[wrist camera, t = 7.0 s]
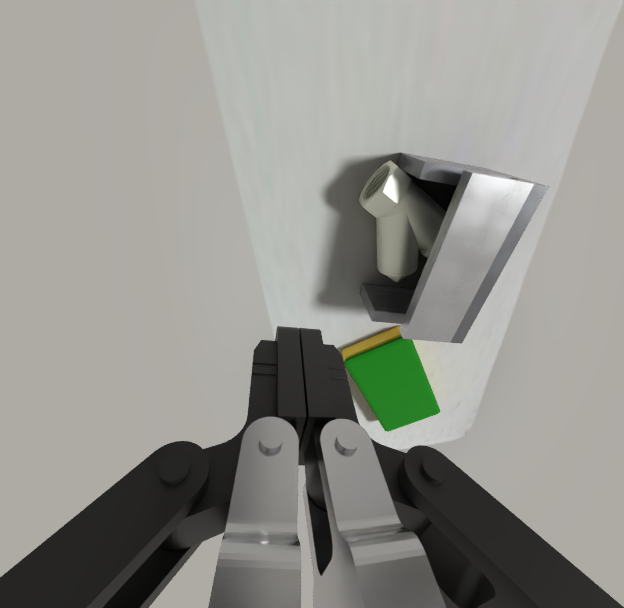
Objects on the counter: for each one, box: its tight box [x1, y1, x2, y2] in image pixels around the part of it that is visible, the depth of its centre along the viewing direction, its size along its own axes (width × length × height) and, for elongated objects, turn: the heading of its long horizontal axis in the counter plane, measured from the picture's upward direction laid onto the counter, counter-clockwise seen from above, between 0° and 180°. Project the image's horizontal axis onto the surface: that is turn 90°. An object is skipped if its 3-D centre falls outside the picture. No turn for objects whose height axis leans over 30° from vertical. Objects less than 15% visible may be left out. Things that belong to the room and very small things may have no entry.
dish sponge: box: [342, 325, 440, 431], centre depth 34 cm, size 7×14×2 cm, turn 26°
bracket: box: [360, 153, 549, 343], centre depth 23 cm, size 12×7×6 cm, turn 171°
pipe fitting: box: [359, 160, 446, 281], centre depth 24 cm, size 8×4×7 cm
